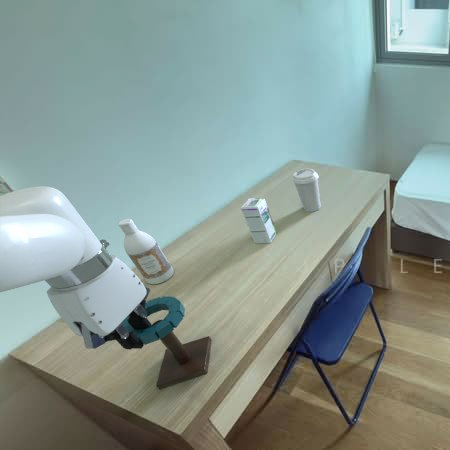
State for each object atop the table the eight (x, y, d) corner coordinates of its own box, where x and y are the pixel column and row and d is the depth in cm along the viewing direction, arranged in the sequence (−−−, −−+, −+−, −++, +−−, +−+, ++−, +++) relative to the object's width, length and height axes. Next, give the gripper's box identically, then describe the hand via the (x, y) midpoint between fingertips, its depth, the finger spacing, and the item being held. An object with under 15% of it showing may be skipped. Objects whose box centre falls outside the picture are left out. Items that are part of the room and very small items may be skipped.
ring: (183, 331, 58) (178, 324, 57) (119, 354, 55) (112, 347, 54) (186, 296, 66) (181, 289, 65) (129, 314, 62) (124, 308, 61)
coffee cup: (316, 199, 127) (308, 165, 119) (329, 206, 122) (322, 172, 113) (295, 208, 122) (286, 173, 113) (308, 216, 116) (299, 181, 108)
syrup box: (271, 243, 103) (258, 206, 95) (254, 243, 104) (239, 207, 95) (277, 233, 108) (265, 197, 100) (260, 233, 108) (247, 197, 100)
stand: (207, 373, 66) (179, 334, 58) (159, 389, 64) (123, 351, 56) (211, 339, 73) (187, 301, 65) (168, 353, 71) (137, 314, 63)
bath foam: (147, 288, 88) (107, 232, 77) (147, 275, 93) (109, 220, 81) (175, 278, 91) (140, 222, 80) (173, 265, 96) (140, 211, 85)
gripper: (99, 234, 53) (152, 305, 64) (-4, 308, 40) (84, 382, 51) (140, 234, 53) (187, 306, 63) (50, 308, 40) (127, 383, 50)
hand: (141, 339), depth 57 cm, fingers closed on ring, 2 cm apart
